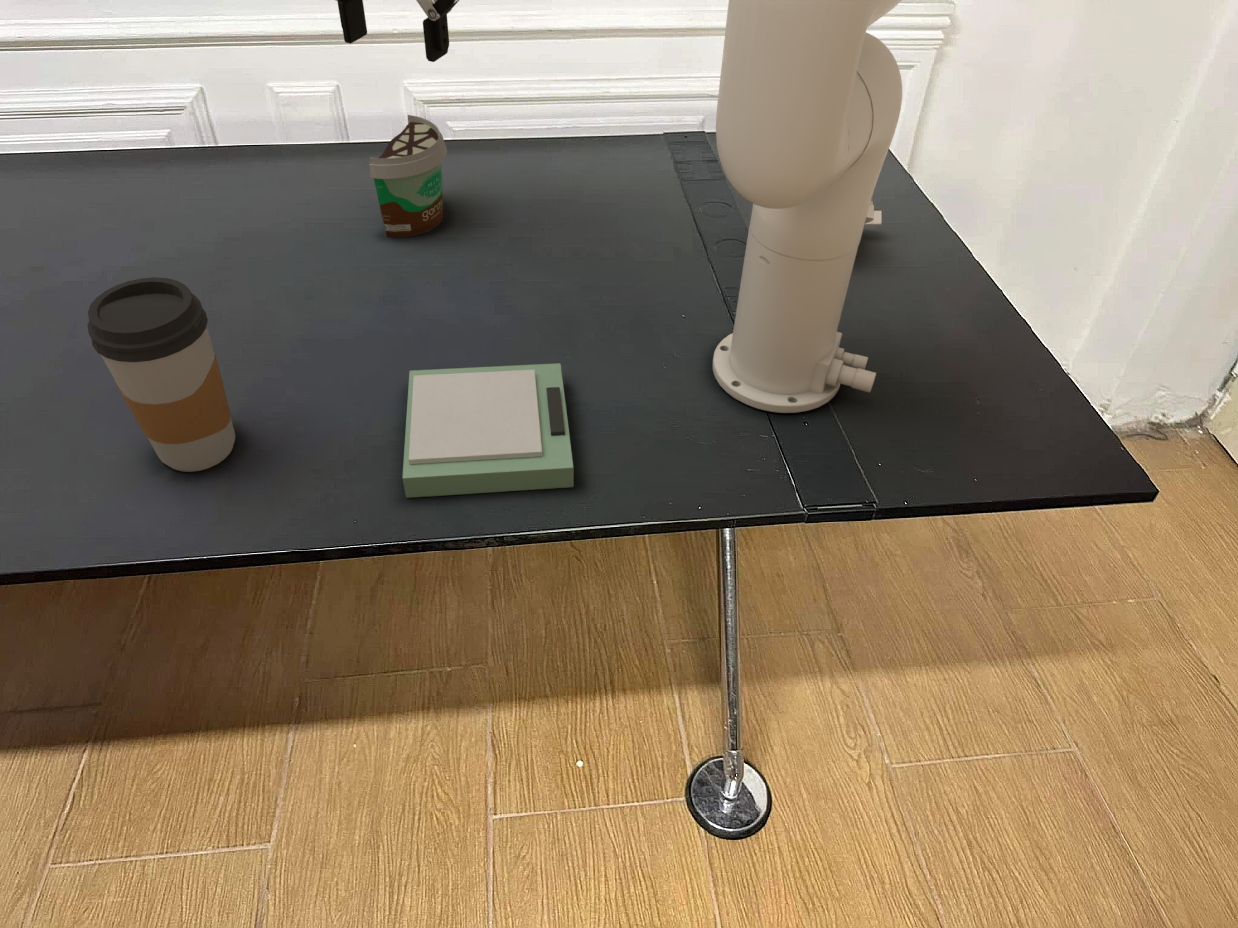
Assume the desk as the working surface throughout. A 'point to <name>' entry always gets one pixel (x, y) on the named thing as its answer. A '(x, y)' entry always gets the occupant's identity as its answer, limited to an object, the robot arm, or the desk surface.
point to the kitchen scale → (486, 431)
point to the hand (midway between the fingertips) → (396, 48)
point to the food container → (411, 179)
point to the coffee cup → (165, 369)
